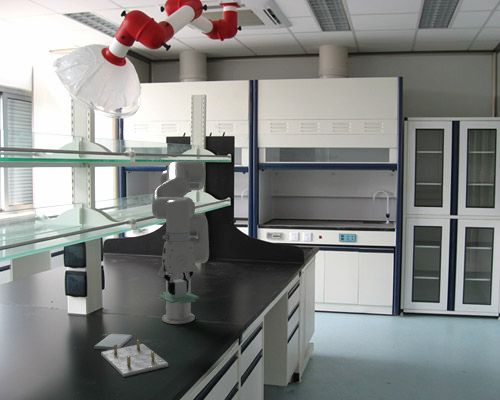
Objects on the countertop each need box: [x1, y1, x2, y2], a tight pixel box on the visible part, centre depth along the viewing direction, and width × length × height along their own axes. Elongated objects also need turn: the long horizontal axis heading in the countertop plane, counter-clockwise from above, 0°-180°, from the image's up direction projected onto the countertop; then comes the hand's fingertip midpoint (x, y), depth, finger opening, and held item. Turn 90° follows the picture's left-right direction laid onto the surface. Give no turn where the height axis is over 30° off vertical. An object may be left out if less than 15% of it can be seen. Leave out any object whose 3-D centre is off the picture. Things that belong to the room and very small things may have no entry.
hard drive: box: [93, 333, 133, 351], centre depth 178 cm, size 2×8×12 cm
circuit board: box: [158, 279, 200, 304], centre depth 170 cm, size 14×10×6 cm
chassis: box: [100, 339, 169, 378], centre depth 162 cm, size 20×14×4 cm
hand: (178, 292), depth 171 cm, fingers closed on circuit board, 4 cm apart
